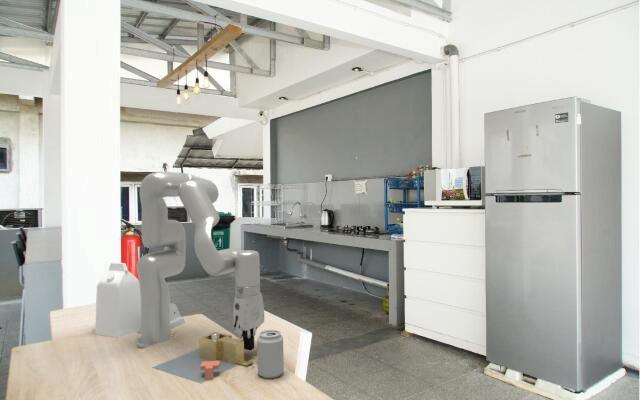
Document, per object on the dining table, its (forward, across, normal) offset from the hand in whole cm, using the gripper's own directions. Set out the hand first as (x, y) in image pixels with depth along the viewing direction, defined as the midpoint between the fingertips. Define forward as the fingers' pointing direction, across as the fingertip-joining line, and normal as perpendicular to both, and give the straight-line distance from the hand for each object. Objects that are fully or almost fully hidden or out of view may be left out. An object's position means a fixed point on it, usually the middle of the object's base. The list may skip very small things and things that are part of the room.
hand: (248, 348), depth 137 cm
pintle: (+3, -6, +8) cm, 11 cm away
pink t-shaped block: (+3, -16, 0) cm, 17 cm away
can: (+4, -5, -12) cm, 14 cm away
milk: (+4, -4, +62) cm, 62 cm away
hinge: (+4, +8, +51) cm, 51 cm away
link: (+2, -6, +3) cm, 7 cm away
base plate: (+3, -12, +8) cm, 15 cm away
